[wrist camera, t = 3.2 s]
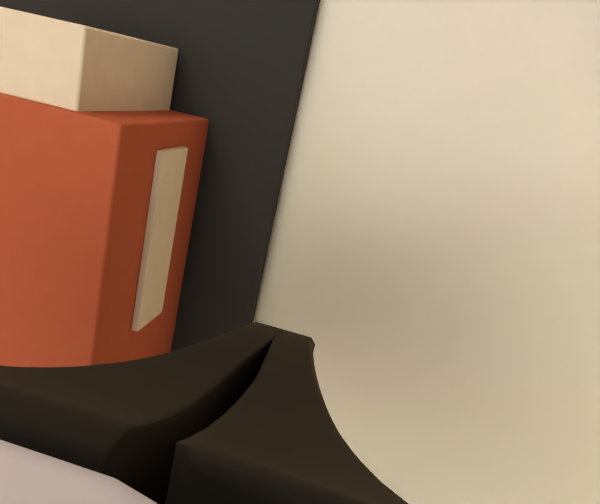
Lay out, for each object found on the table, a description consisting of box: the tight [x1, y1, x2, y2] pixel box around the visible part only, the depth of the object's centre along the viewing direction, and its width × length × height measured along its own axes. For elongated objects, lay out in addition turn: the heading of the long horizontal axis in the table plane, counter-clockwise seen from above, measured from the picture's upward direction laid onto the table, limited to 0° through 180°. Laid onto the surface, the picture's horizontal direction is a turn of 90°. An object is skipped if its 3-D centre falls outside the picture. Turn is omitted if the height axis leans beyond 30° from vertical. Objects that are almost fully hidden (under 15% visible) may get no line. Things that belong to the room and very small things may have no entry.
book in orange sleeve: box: [0, 7, 209, 367], centre depth 16 cm, size 12×5×6 cm, turn 168°
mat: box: [0, 0, 320, 352], centre depth 20 cm, size 18×16×1 cm
